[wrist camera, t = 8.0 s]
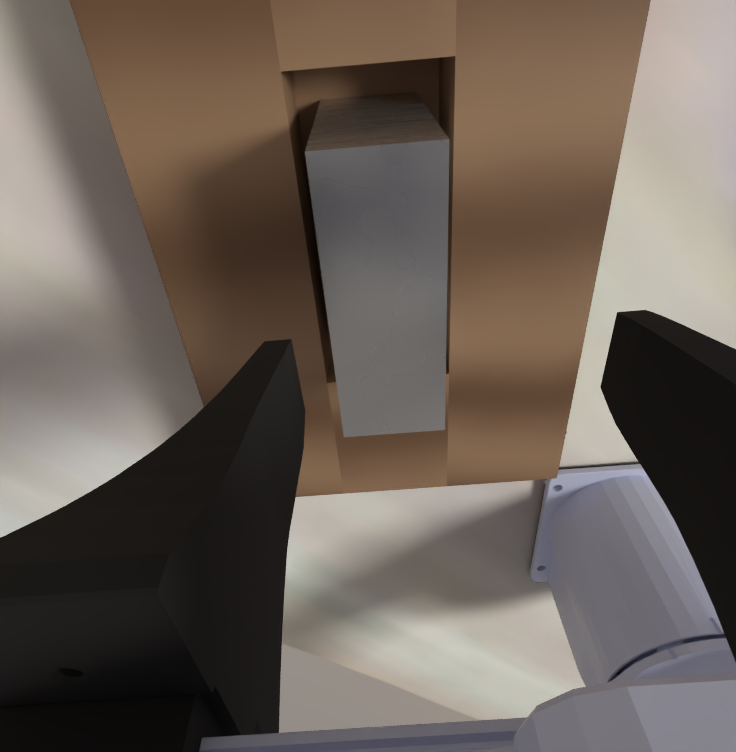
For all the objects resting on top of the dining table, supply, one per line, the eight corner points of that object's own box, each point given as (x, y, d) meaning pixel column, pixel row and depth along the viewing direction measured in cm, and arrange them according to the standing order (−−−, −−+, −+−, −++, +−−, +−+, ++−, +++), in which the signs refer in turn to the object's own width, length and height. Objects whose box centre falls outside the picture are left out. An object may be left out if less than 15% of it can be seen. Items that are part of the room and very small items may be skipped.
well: (533, 424, 25) (556, 478, 23) (248, 445, 26) (235, 501, 23) (635, -264, 13) (716, -342, 10) (63, -206, 13) (-19, -265, 10)
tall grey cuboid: (419, 314, 21) (444, 429, 15) (345, 320, 21) (344, 437, 16) (415, 91, 16) (449, 139, 11) (320, 99, 17) (304, 151, 11)
